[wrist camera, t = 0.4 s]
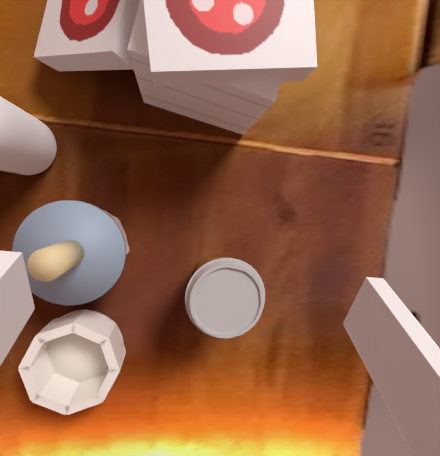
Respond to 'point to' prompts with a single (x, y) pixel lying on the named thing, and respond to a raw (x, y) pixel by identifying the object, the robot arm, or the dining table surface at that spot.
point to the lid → (70, 252)
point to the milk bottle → (24, 141)
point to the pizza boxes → (188, 50)
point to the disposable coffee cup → (224, 297)
